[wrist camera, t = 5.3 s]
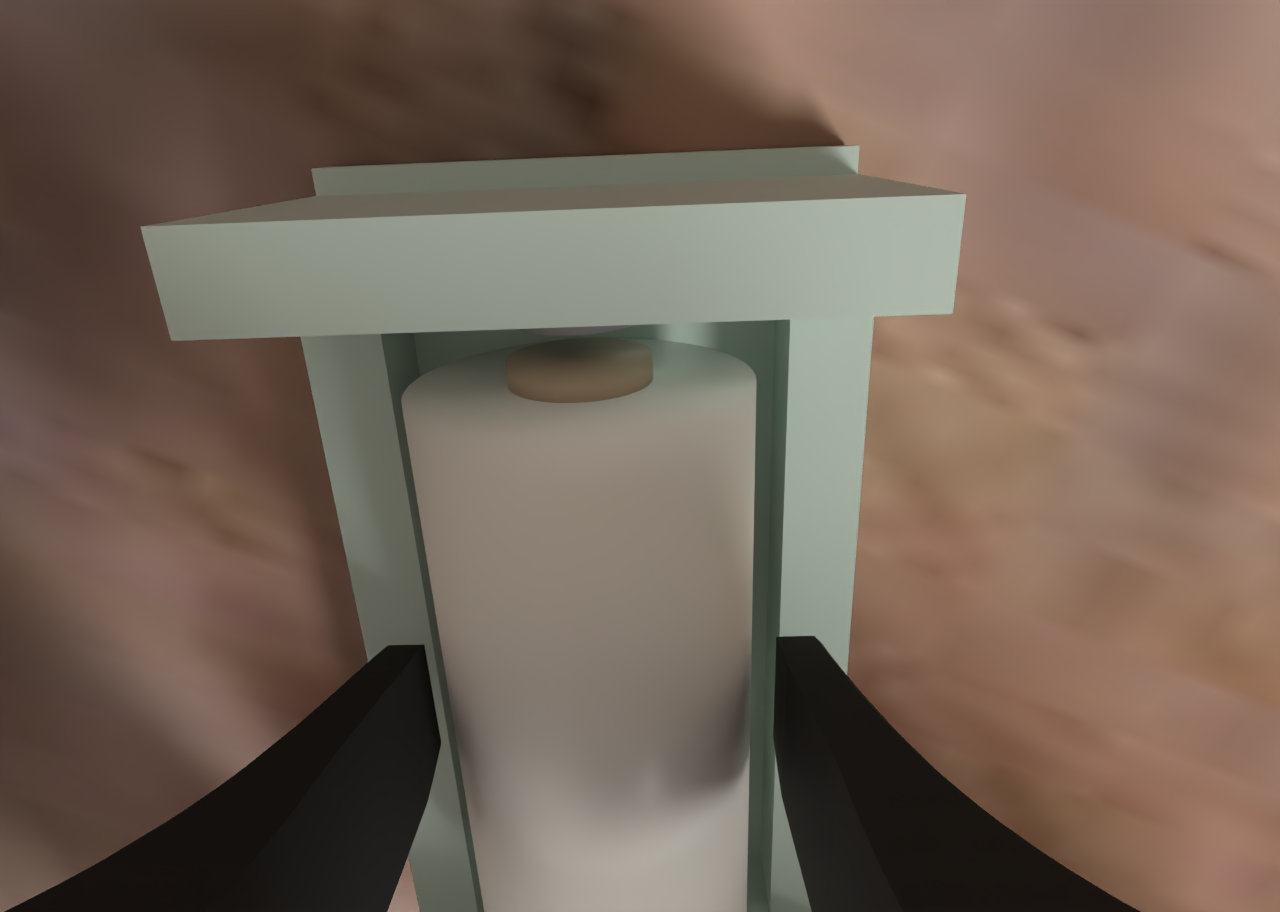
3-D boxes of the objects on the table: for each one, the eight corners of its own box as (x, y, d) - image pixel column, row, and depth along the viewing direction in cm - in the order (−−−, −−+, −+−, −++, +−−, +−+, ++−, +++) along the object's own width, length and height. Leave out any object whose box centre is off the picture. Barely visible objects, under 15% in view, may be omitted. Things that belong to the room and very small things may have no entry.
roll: (750, 818, 16) (741, 1067, 12) (532, 796, 17) (448, 1022, 13) (760, 316, 12) (751, 417, 8) (474, 317, 13) (323, 410, 9)
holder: (805, 873, 19) (859, 1136, 14) (457, 877, 19) (388, 1137, 14) (846, 145, 12) (970, 150, 8) (331, 166, 13) (128, 185, 8)
